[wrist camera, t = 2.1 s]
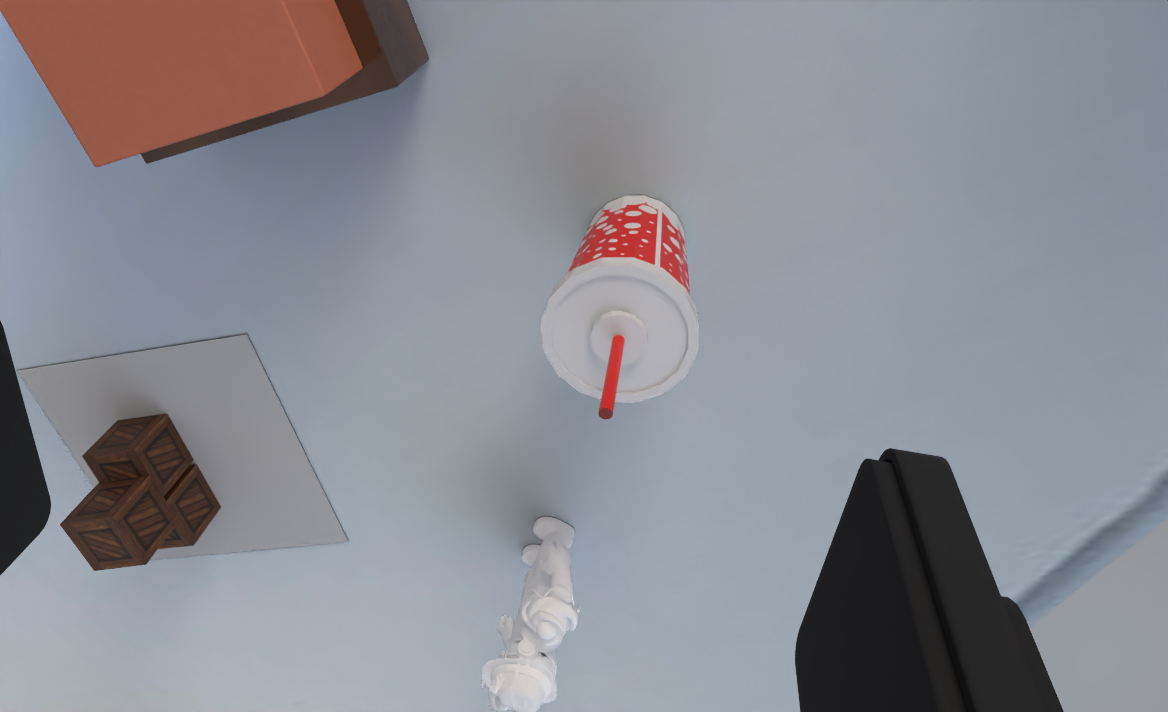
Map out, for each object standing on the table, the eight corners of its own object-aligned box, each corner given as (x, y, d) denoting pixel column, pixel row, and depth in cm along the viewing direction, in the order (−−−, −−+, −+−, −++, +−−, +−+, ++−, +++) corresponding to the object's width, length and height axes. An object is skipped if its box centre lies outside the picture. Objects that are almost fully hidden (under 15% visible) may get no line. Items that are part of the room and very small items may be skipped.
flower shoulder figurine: (554, 600, 54) (518, 781, 44) (496, 578, 54) (446, 755, 43) (610, 503, 49) (584, 680, 39) (547, 478, 49) (504, 650, 39)
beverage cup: (548, 258, 42) (484, 431, 30) (613, 153, 38) (570, 300, 27) (656, 320, 43) (635, 511, 31) (728, 223, 39) (735, 394, 28)
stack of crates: (348, 541, 53) (304, 628, 48) (142, 560, 57) (78, 644, 51) (247, 333, 46) (180, 407, 40) (17, 370, 50) (-75, 442, 44)
